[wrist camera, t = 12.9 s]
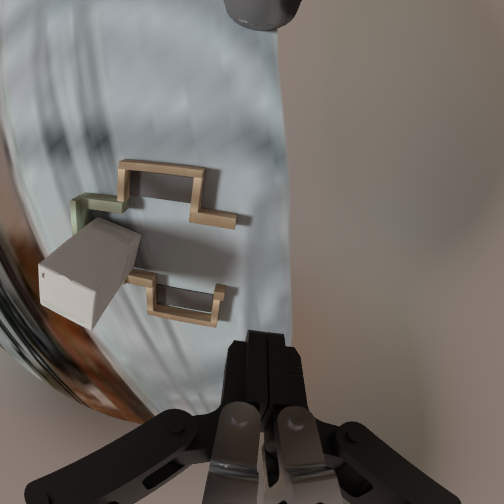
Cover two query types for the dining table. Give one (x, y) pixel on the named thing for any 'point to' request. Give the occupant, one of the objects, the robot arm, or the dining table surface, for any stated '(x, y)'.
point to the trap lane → (189, 193)
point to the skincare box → (88, 271)
